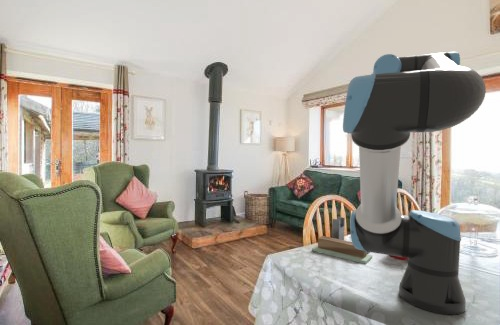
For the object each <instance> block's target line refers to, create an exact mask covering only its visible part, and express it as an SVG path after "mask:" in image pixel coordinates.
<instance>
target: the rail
mask: <svg viewBox="0 0 500 325" xmlns="http://www.w3.org/2000/svg"><path fill="white" fill-rule="evenodd" d="M317 245H318V248H321V249H326V250H330V251H334V252H338V253H343V254H347V255H351V256H355V257H360V258H365V257H366V256H367V252H366V251H363V250H358V249H356V248H355V247H354V245H353V243H352V241H349V240H345V239H344V240H340V239H335V238H332V237H330V236H326V235H321V236H319V237H317Z"/></svg>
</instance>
